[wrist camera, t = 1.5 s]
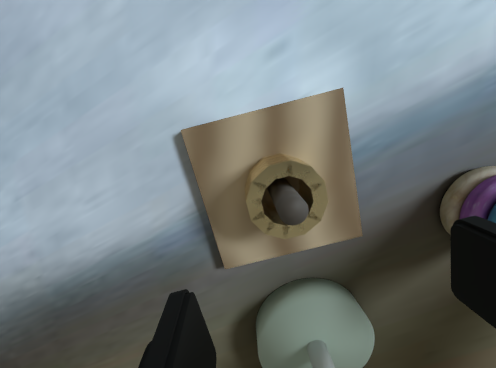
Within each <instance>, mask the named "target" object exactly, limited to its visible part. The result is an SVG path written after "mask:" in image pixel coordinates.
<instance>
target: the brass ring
mask: <svg viewBox="0 0 496 368" xmlns="http://www.w3.org/2000/svg"><path fill="white" fill-rule="evenodd" d="M287 176H291V177H295V178H298V180H299V185H300V188H299V191H298V194H299V195H300V196H301V197H302V198H303V200H304V201H305V202H306V203H307V205H308V209H309V212H308V216H307V218H306V219H305V220H304V221H303V222H302V223H300V224H298V225H287V224H285V223H284V222H283V221H282V220H281V219H280V217H279V215H278V212H277V210H276V208H275V207H274V206H270V205H267V204H266V203H265V202H264V201H263V200H262V198H263V194H264V191H265V189H266V188H267V187H268V186H269V185H270V184H271V183H272V182H273V181H274V180H275V179H279V178H283V177H287ZM245 197H246V204H247V207H248V211H249V215H250V218H251V221H252V222H253V223H254V224H255V225H256V226H257V227H258V228H259V229H260V230H261V231H262V232H263V233H265V234H266V235H270V236H274V237H278V238H282V239H288V238H292V237H296V236H300V235H304V234H306V233H307V232H308V231H310V230H311V229H312V228H313V227H314V226H315V225H317V224H318V223H319V222H320V221H321V219H322V217H323V214H324V212H325V209H326V207H327V204H328V202H329V201H328V196H327V190H326V184H325V181H324V180H323V179H322V178H321V177H320V175H319V174H318V173H317V172H316V171H315V170H314V169H313V168H312V167H311V166H310V165H308V164H307V163H305V162H303V161H302V160H300V159H298V158H296V157H292V156H289V155H285V154H282V153H279V154H275V155H271V156H267V157H263V158H262V159H261V160H260V161H259V162H258V163H257V164H255V165H254V166H253V167H252V168H251V169H250V170H249V174H248V177H247V180H246V184H245Z"/></svg>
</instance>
